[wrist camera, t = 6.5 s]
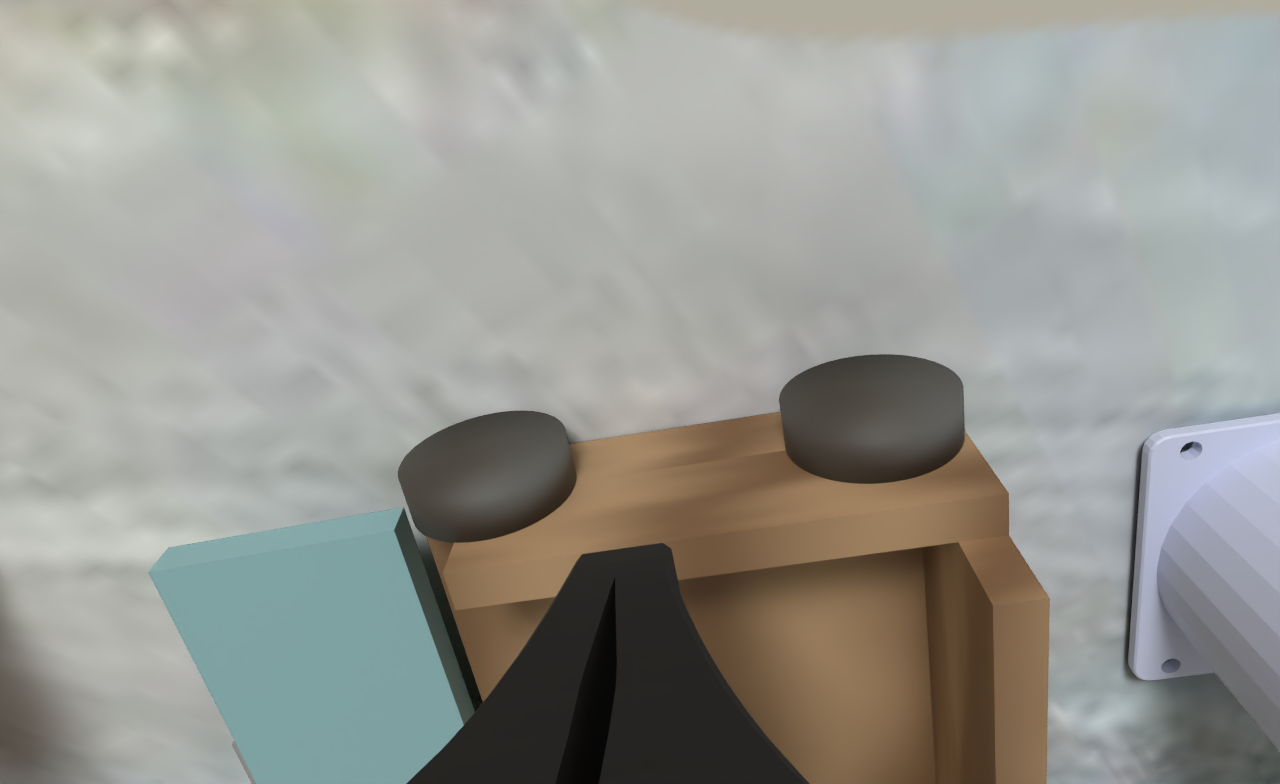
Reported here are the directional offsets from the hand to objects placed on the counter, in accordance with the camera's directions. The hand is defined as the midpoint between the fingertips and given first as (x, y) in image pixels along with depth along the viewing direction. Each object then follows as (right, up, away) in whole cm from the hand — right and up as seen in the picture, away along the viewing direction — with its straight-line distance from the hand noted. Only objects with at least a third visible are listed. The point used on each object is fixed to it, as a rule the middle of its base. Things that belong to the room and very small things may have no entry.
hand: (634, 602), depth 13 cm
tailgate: (-4, -8, +12) cm, 15 cm away
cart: (+3, -6, +13) cm, 14 cm away
